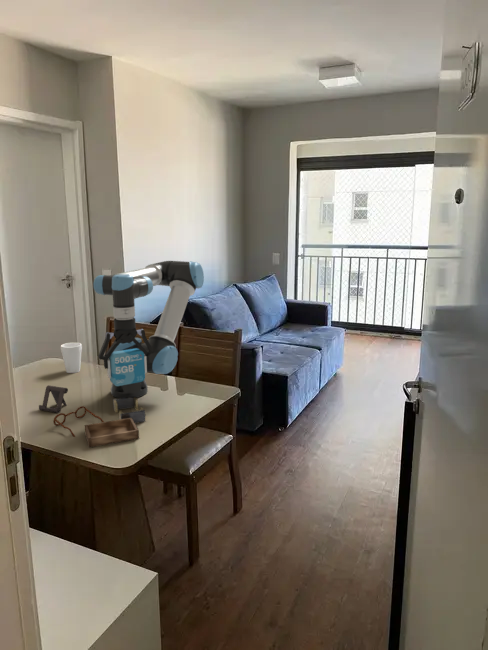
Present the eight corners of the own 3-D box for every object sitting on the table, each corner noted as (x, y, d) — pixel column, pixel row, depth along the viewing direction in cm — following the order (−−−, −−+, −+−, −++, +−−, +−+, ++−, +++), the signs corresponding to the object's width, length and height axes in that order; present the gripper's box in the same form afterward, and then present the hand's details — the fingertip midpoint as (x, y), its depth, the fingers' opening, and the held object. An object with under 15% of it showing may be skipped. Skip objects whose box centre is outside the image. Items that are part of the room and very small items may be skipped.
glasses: (85, 416, 182) (84, 404, 181) (106, 426, 174) (105, 413, 173) (53, 428, 172) (52, 414, 171) (73, 438, 164) (72, 424, 163)
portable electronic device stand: (38, 410, 186) (36, 390, 184) (52, 403, 193) (51, 383, 191) (57, 413, 183) (55, 393, 181) (71, 406, 190) (69, 386, 188)
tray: (131, 425, 173) (131, 417, 172) (139, 438, 163) (138, 430, 162) (85, 433, 167) (84, 425, 166) (89, 447, 156) (88, 439, 156)
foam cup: (58, 373, 230) (56, 347, 227) (68, 367, 238) (67, 342, 236) (77, 374, 228) (75, 348, 225) (86, 368, 237) (85, 343, 234)
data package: (114, 387, 175) (112, 355, 172) (110, 383, 178) (108, 352, 176) (145, 381, 181) (144, 350, 178) (141, 377, 185) (139, 347, 182)
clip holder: (135, 405, 191) (135, 396, 190) (145, 421, 177) (145, 411, 176) (113, 409, 188) (113, 399, 187) (121, 425, 173) (121, 414, 172)
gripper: (90, 322, 166) (94, 382, 171) (160, 316, 176) (162, 373, 180) (87, 318, 172) (91, 375, 177) (155, 313, 182) (157, 367, 187)
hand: (127, 374), depth 179 cm, fingers closed on data package, 12 cm apart
